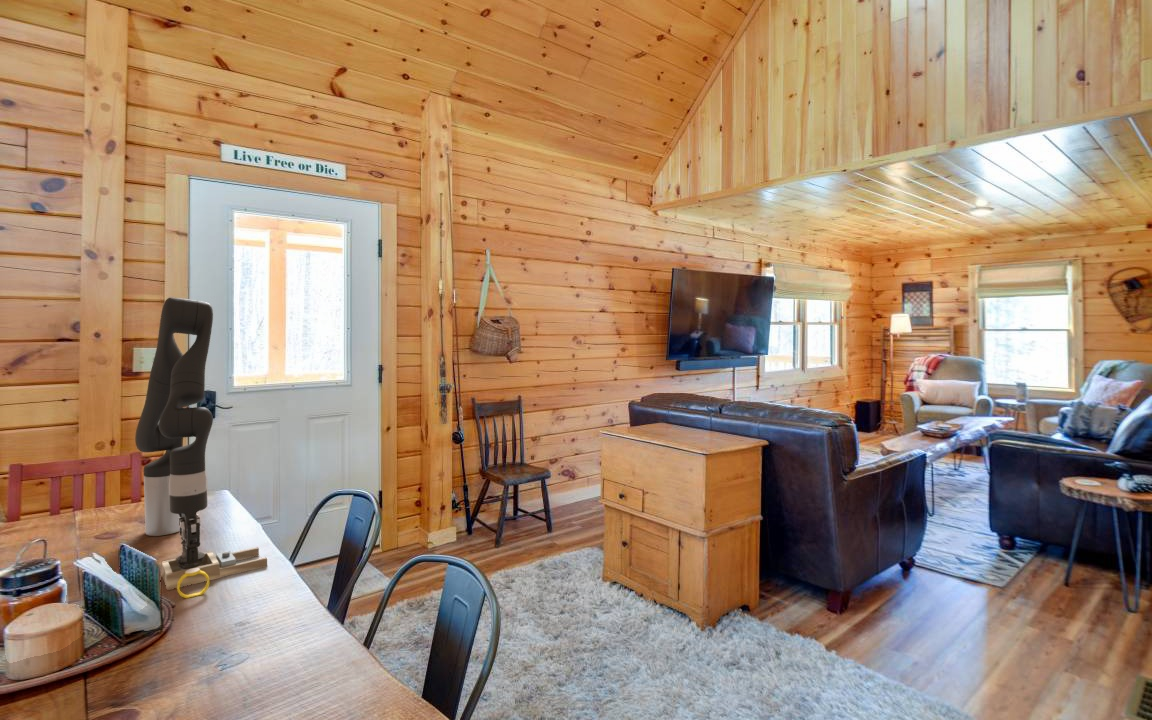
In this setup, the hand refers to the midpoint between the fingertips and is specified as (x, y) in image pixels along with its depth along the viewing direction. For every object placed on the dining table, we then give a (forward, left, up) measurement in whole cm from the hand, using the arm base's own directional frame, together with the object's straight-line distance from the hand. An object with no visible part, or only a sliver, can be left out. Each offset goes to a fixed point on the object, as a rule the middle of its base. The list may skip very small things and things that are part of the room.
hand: (190, 558), depth 139 cm
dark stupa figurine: (0, 0, -3) cm, 3 cm away
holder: (0, +5, -4) cm, 7 cm away
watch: (+12, -1, -5) cm, 13 cm away
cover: (0, +7, -4) cm, 9 cm away
